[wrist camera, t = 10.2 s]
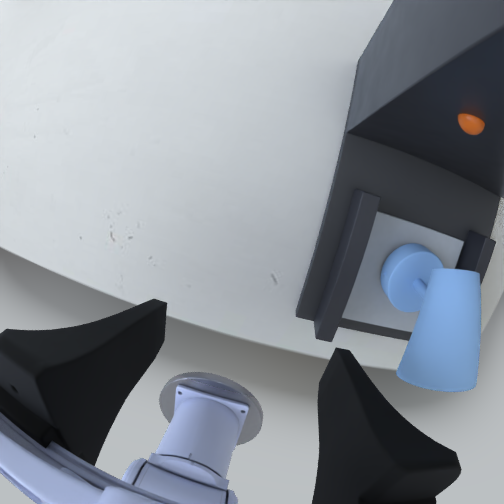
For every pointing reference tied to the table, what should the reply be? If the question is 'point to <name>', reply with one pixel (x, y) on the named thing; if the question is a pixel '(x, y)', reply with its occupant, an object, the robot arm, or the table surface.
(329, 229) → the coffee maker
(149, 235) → the table surface
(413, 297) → the spotlight
